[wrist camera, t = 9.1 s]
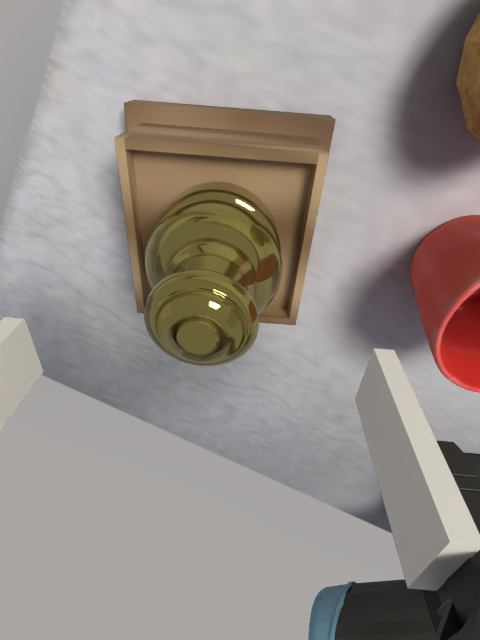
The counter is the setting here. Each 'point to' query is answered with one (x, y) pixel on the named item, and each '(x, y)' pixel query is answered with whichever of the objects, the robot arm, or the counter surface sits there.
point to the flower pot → (451, 298)
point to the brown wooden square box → (225, 177)
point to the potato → (471, 79)
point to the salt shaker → (211, 273)
